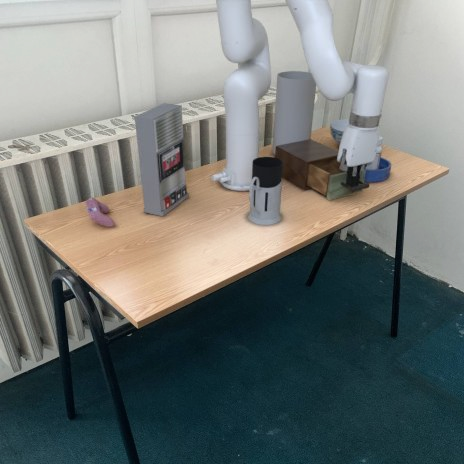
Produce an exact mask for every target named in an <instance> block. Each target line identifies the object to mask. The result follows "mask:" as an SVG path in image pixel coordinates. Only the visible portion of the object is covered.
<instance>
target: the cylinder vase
mask: <svg viewBox="0 0 464 464" xmlns="http://www.w3.org/2000/svg"><path fill="white" fill-rule="evenodd" d="M275 91H276V92H275V105H274V106H275V107H274V122H273V136H272V137H273V139H272V153H273V155H274V156H275V149H276V146H278V145H283V144H288V143H293V142H298V141H303V140H308V139H312V131H313V130H312V128H313V120H314V111H315V102H316V92H317V85H316V83H315V81H314V79H313V76H312V74H311V72H310V71H301V70H287V71H281V72H278V73H277V74H276V89H275Z"/></svg>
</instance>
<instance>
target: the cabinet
mask: <svg viewBox="0 0 464 464" xmlns="http://www.w3.org/2000/svg"><path fill="white" fill-rule="evenodd" d="M338 151H339V150H336V149H334V148H332V147H329V146H328V145H325V144H323V143H320V142H319V141H316V140H314V139H312V138H311V139H308V140H303V141H298V142H293V143H288V144H283V145H278V146H276V149H275V155H274V158H278V159H280V160H281V161H282V162H283V167H282V179H283V180H285V181H287V182H289V183H290V184H292V185H294V186H296V187H297V188H299V189H301V190H302V191H307V190H311V189H313V188H311V187H309V186H308V185H307V178H308V168H309V164H312V163H316V162H320V161H325V160H329V159H334V158H337V157H338Z"/></svg>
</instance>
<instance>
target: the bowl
mask: <svg viewBox="0 0 464 464" xmlns="http://www.w3.org/2000/svg"><path fill="white" fill-rule="evenodd" d="M392 165H393V164H392V162H391V161H390V160H389V159H387V158H384V157H382V156H381V157H380V162H379V168H378V170H368V169H366V173H365V178H364V183H377V182H382V181H386V180H387V179H389V177H390V174H391V171H392Z"/></svg>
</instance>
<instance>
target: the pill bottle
mask: <svg viewBox="0 0 464 464" xmlns="http://www.w3.org/2000/svg"><path fill="white" fill-rule="evenodd" d="M383 139H384V138H383V136H381V135H379V140H378V147H377V152H376V156H375V159H374V160H373V161H372V164H371V165H369V166H367V167H366V169H368V170H378V168H379V162H380V157H382V152H383V147H382V145H383Z"/></svg>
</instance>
